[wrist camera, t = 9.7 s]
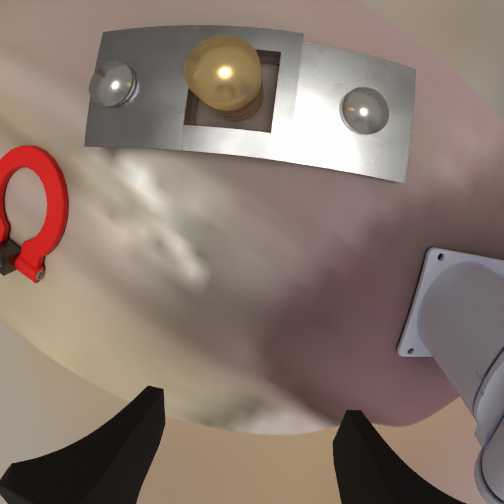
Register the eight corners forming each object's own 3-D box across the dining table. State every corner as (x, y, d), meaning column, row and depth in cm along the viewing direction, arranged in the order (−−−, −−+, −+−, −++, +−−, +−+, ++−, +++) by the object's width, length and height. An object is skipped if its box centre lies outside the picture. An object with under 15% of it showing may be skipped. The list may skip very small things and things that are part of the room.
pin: (266, 75, 16) (265, 38, 10) (259, 124, 17) (254, 106, 11) (214, 70, 16) (190, 33, 10) (207, 118, 17) (178, 100, 11)
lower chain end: (407, 73, 15) (420, 66, 14) (396, 182, 17) (408, 184, 16) (191, 40, 16) (183, 29, 14) (175, 150, 18) (165, 149, 16)
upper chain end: (299, 48, 16) (304, 29, 13) (285, 161, 18) (288, 161, 15) (119, 43, 16) (98, 29, 13) (104, 147, 18) (78, 146, 15)
